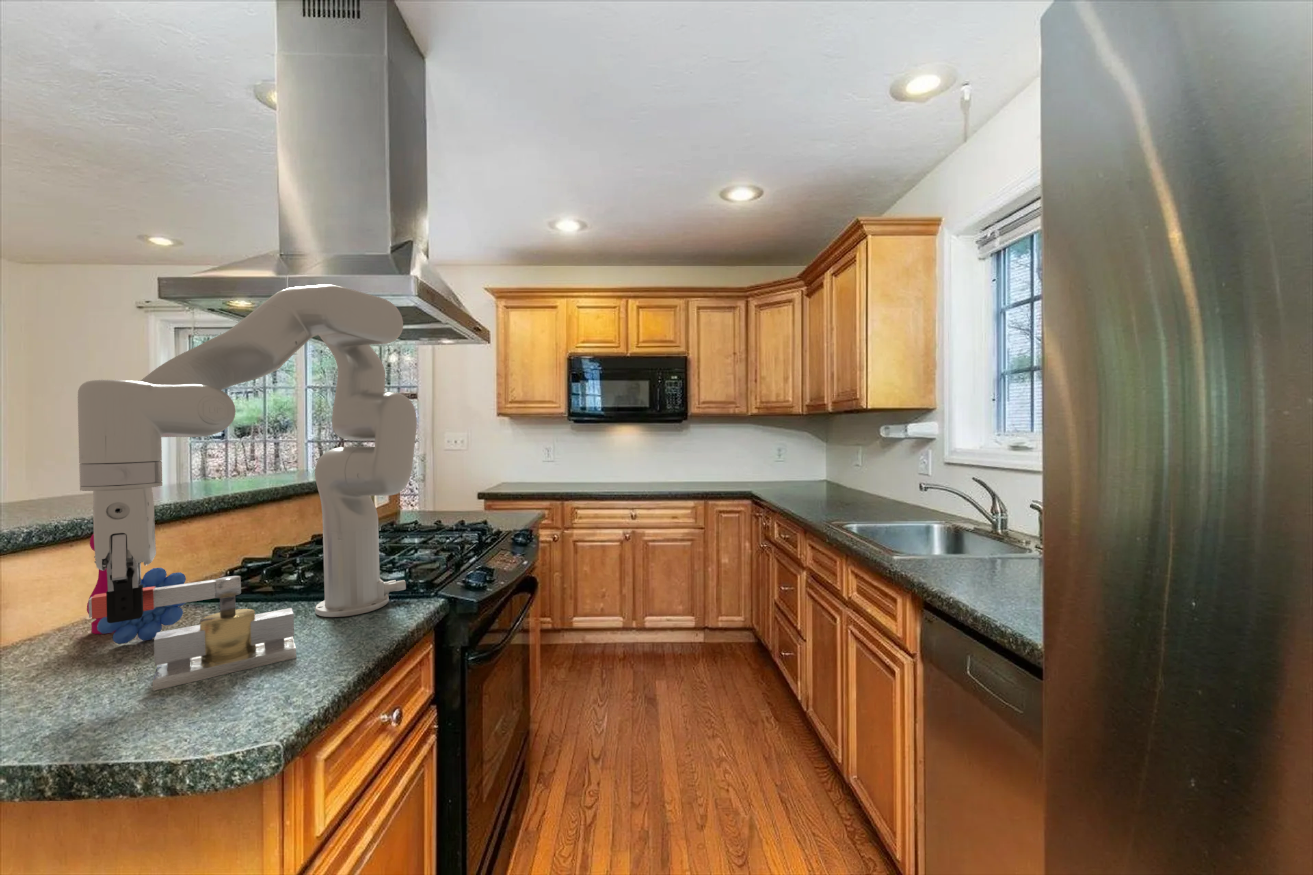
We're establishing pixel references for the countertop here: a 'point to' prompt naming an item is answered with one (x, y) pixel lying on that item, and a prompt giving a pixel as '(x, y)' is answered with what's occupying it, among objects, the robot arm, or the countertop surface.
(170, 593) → the valve lever
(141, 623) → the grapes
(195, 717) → the countertop surface
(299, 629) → the countertop surface
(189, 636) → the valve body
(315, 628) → the countertop surface
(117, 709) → the countertop surface
